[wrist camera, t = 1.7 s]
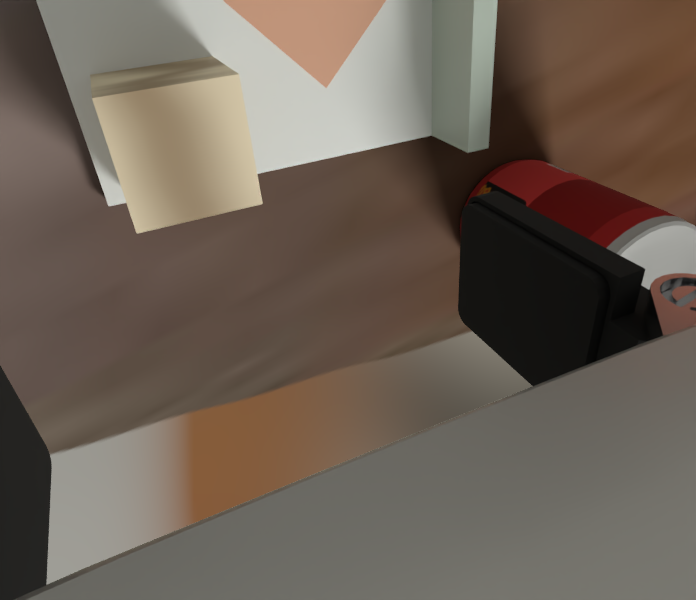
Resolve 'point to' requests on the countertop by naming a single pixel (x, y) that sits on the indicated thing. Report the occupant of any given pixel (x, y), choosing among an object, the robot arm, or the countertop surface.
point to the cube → (178, 140)
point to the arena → (297, 68)
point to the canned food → (599, 215)
